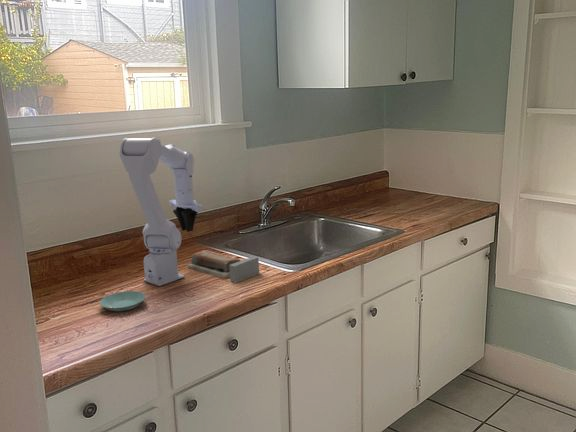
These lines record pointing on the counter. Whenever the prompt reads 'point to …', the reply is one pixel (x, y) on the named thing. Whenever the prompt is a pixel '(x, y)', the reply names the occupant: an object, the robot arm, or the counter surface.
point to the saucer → (122, 300)
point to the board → (244, 269)
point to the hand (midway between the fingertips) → (187, 230)
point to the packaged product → (212, 263)
